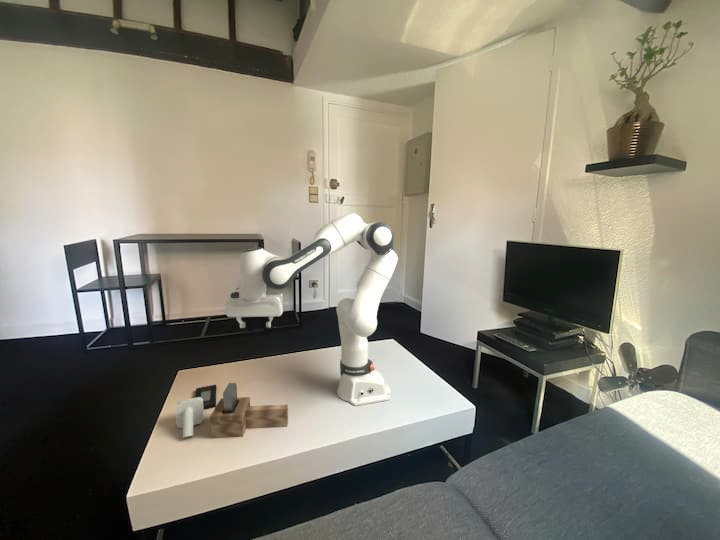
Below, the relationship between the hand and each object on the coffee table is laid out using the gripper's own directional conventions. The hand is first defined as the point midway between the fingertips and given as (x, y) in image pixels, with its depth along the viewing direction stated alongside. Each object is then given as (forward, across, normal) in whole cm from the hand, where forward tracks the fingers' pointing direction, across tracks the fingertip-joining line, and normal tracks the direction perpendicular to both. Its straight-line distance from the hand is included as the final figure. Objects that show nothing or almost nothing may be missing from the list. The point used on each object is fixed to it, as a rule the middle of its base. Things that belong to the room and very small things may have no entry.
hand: (255, 327), depth 112 cm
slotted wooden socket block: (+31, -1, +14) cm, 34 cm away
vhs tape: (+32, +22, -3) cm, 39 cm away
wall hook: (+32, +20, +14) cm, 40 cm away
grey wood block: (+26, +6, +14) cm, 30 cm away
